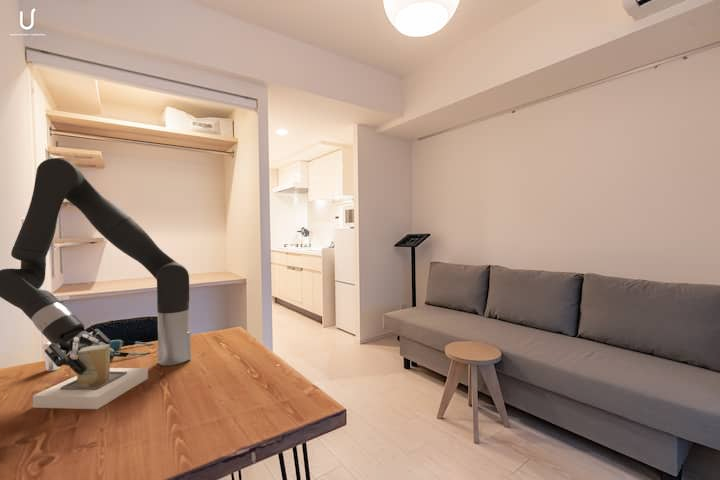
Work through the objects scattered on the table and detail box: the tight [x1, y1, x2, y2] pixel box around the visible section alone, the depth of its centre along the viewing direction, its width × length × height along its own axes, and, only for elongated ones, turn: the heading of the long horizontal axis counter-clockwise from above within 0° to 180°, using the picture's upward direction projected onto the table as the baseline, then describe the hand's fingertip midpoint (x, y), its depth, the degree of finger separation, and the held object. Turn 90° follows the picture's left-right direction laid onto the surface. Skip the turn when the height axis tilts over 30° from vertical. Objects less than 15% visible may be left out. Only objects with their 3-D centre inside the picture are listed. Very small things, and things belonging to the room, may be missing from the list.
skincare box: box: [76, 344, 111, 387], centre depth 87 cm, size 6×4×12 cm
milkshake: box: [42, 340, 61, 372], centre depth 103 cm, size 4×5×10 cm
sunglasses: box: [110, 339, 154, 361], centre depth 118 cm, size 14×15×5 cm
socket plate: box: [32, 367, 149, 410], centre depth 87 cm, size 17×17×3 cm
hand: (98, 365), depth 87 cm, fingers open, 8 cm apart
